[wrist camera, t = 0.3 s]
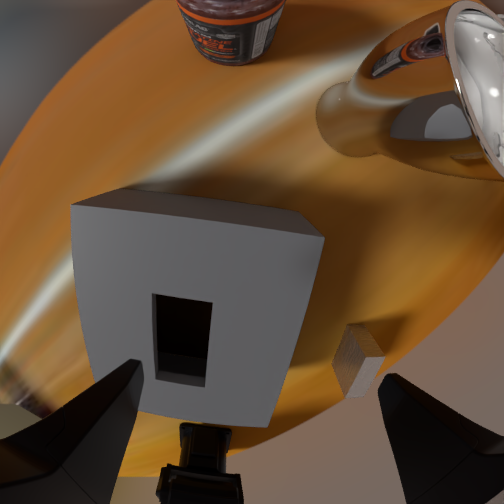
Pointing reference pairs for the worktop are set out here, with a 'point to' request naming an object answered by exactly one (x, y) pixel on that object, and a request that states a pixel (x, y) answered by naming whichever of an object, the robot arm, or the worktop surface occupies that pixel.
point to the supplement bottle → (231, 28)
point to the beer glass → (427, 96)
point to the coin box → (194, 296)
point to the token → (357, 361)
